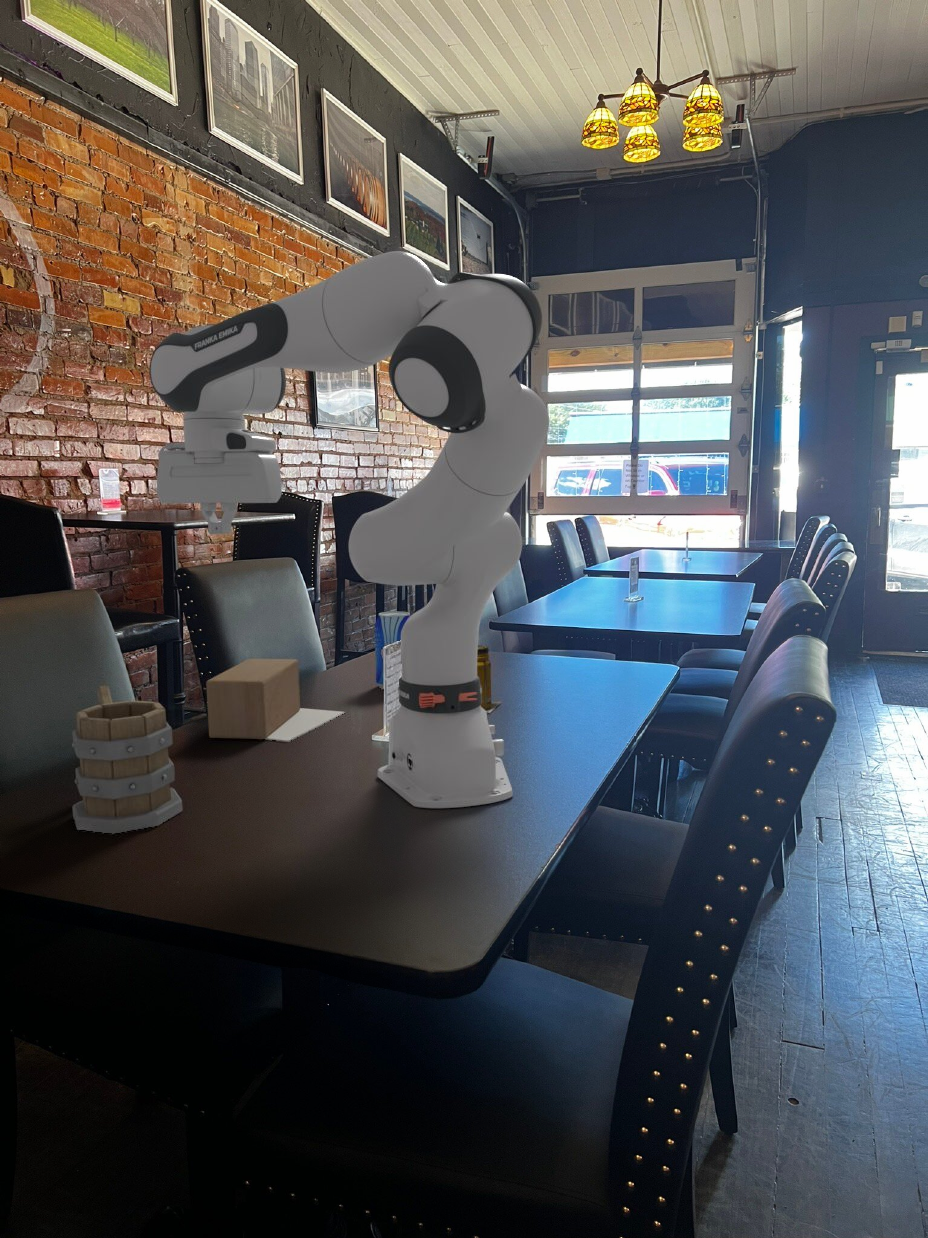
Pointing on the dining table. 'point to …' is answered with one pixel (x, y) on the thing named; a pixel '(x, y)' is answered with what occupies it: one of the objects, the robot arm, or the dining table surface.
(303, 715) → the mat
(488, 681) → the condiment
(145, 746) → the tankard
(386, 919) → the dining table surface
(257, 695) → the wooden block
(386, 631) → the beer can
